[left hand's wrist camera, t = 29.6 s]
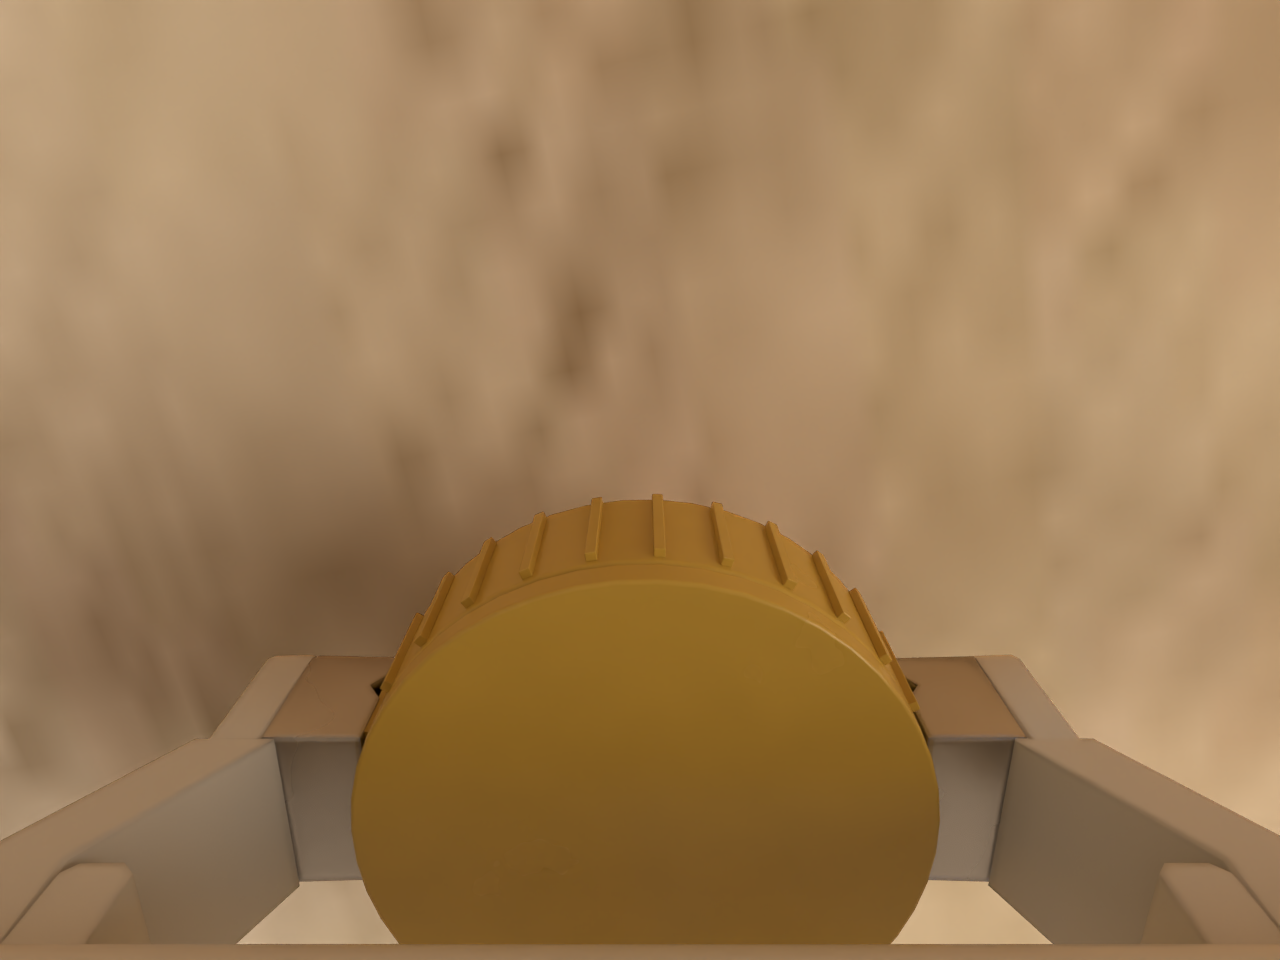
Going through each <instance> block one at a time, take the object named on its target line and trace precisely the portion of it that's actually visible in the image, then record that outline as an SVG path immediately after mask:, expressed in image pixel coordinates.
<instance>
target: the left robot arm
mask: <svg viewBox="0 0 1280 960" xmlns="http://www.w3.org/2000/svg"><path fill="white" fill-rule="evenodd" d="M394 658H395V657H363V656H318V657H317V656H315V655H285V656H274V657H271V658H268V659H267V660H266V662H265V663H264V664H263V666H262V667H261V668H260V670H259V671H258V673H257V674H256V675H255V677H254V678H253V679H252V681H251V682H250V684H249V685H248V686H247V688H246V689H245V690H244V692H243V693H242V694H241V696H240V697H239V699H238V700H237V701H236V703H235V704H234V705H233V707H232V708H231V710H230V711H229V712H228V714H227V715H226V716H225V718H224V719H223V720H222V722H221V723H220V725H219V726H218V727H217V729H216V730H215V731H214V733H213V734H212V736H211V737H210V738H209V739H194V740H192V741H190V742H188V743H186V744H184V745H183V746H181V747H179V748H177V749H175V750H173V751H171V752H169V753H167V754H165V755H163V756H162V757H160V758H158V759H156V760H154V761H152V762H150V763H148V764H146V765H144V766H142V767H141V768H139V769H137V770H135V771H133V772H131V773H129V774H127V775H125V776H123V777H121V778H120V779H118V780H116V781H114V782H112V783H110V784H108V785H106V786H104V787H102V788H100V789H98V790H97V791H95V792H93V793H91V794H89V795H87V796H85V797H83V798H81V799H79V800H77V801H76V802H74V803H72V804H70V805H68V806H66V807H64V808H62V809H60V810H58V811H56V812H55V813H53V814H51V815H49V816H47V817H45V818H43V819H41V820H39V821H37V822H35V823H34V824H32V825H30V826H28V827H26V828H24V829H22V830H20V831H18V832H16V833H14V834H13V835H11V836H9V837H7V838H5V839H3V840H1V841H0V960H1280V836H1279V835H1277V834H1275V833H1273V832H1272V831H1270V830H1268V829H1266V828H1264V827H1262V826H1260V825H1258V824H1256V823H1254V822H1252V821H1250V820H1248V819H1247V818H1245V817H1243V816H1241V815H1239V814H1237V813H1235V812H1233V811H1231V810H1229V809H1227V808H1225V807H1224V806H1222V805H1220V804H1218V803H1216V802H1214V801H1212V800H1210V799H1208V798H1206V797H1204V796H1202V795H1200V794H1199V793H1197V792H1195V791H1193V790H1191V789H1189V788H1187V787H1185V786H1183V785H1181V784H1179V783H1177V782H1175V781H1174V780H1172V779H1170V778H1168V777H1166V776H1164V775H1162V774H1160V773H1158V772H1156V771H1154V770H1152V769H1151V768H1149V767H1147V766H1145V765H1143V764H1141V763H1139V762H1137V761H1135V760H1133V759H1131V758H1129V757H1127V756H1126V755H1124V754H1122V753H1120V752H1118V751H1116V750H1114V749H1112V748H1110V747H1108V746H1106V745H1104V744H1102V743H1101V742H1099V741H1097V740H1095V739H1079V737H1078V736H1077V735H1076V733H1075V732H1074V731H1073V729H1072V728H1071V727H1070V725H1069V724H1068V723H1067V721H1066V720H1065V719H1064V717H1063V716H1062V715H1061V713H1060V712H1059V711H1058V709H1057V708H1056V707H1055V705H1054V704H1053V703H1052V701H1051V700H1050V699H1049V697H1048V696H1047V695H1046V693H1045V692H1044V691H1043V689H1042V688H1041V687H1040V685H1039V684H1038V683H1037V681H1036V680H1035V679H1034V677H1033V676H1032V675H1031V673H1030V672H1029V671H1028V669H1027V668H1026V667H1025V665H1024V664H1023V663H1022V661H1021V660H1020V659H1019V658H1017V657H1015V656H1013V655H990V656H967V657H927V658H896V660H897V662H898V664H899V666H900V668H901V670H902V672H903V674H904V676H905V678H906V680H907V682H908V684H909V686H910V688H911V690H912V692H913V694H914V696H915V698H916V700H917V702H918V704H919V707H920V710H917V711H915V712H913V713H914V715H915V718H916V720H917V722H918V724H919V726H920V728H921V731H922V733H923V736H924V738H925V741H926V743H927V746H928V749H929V751H930V754H931V756H932V759H933V764H934V769H935V773H936V778H937V783H938V788H939V806H940V825H939V833H938V841H937V849H936V855H935V858H934V862H933V865H932V868H931V872H930V875H929V879H928V880H950V881H987V882H989V884H988V885H989V886H990V887H991V888H992V889H993V890H994V891H995V892H996V893H998V894H999V895H1000V896H1001V897H1002V898H1003V899H1004V900H1005V901H1006V902H1007V903H1009V904H1010V905H1011V906H1012V907H1013V908H1014V909H1015V910H1016V911H1017V912H1018V913H1020V914H1021V915H1022V916H1023V917H1024V918H1025V919H1026V920H1027V921H1028V922H1030V923H1031V924H1032V925H1033V926H1034V927H1035V928H1036V929H1037V930H1038V931H1039V932H1041V933H1042V934H1043V935H1044V936H1045V937H1046V938H1047V939H1048V940H1049V941H1050V942H1052V943H1053V944H236V943H237V942H239V941H240V940H241V939H242V938H243V937H244V936H245V935H246V934H247V933H248V932H250V931H251V930H252V929H253V928H254V927H255V926H256V925H257V924H258V923H259V922H261V921H262V920H263V919H264V918H265V917H266V916H267V915H268V914H269V913H270V912H271V911H273V910H274V909H275V908H276V907H277V906H278V905H279V904H280V903H281V902H282V901H284V900H285V899H286V898H287V897H288V896H289V895H290V894H291V893H292V892H293V891H294V890H296V889H297V888H298V887H299V882H301V881H336V880H363V879H362V876H361V873H360V870H359V867H358V865H357V861H356V855H355V850H354V844H353V838H352V832H351V795H352V789H353V783H354V776H355V770H356V766H357V763H358V760H359V757H360V754H361V751H362V748H363V745H364V742H365V733H364V731H365V728H366V726H367V724H368V722H369V720H370V718H371V716H372V714H373V712H374V710H375V708H376V706H377V704H378V702H379V695H380V693H381V691H382V689H380V687H381V685H382V683H383V681H384V679H385V676H386V674H387V672H388V670H389V668H390V666H391V664H392V662H393V660H394Z"/></svg>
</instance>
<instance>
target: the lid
mask: <svg viewBox="0 0 1280 960" xmlns="http://www.w3.org/2000/svg"><path fill="white" fill-rule="evenodd" d="M380 689H382V691H381V693H380V695H379V702H378V704H377V706H376V708H375V710H374V712H373V714H372V716H371V718H370V720H369V722H368V724H367V726H366V728H365V731H364V733H365V742H364V745H363V748H362V751H361V754H360V757H359V760H358V763H357V766H356V770H355V776H354V783H353V789H352V795H351V832H352V838H353V844H354V850H355V855H356V861H357V865H358V867H359V870H360V873H361V876H362V879H363V882H364V885H365V888H366V891H367V893H368V895H369V897H370V899H371V901H372V902H373V904H374V906H375V908H376V910H377V912H378V914H379V916H380V918H381V919H382V921H383V922H384V924H385V925H386V926H387V928H388V929H389V930H390V932H391V933H392V935H393V936H394V937H395V939H396V940H397V942H398V943H399V944H891V943H892V942H893V941H894V939H895V938H896V937H897V936H898V934H899V933H900V931H901V930H902V928H903V927H904V925H905V924H906V922H907V921H908V919H909V918H910V916H911V915H912V913H913V912H914V910H915V908H916V906H917V904H918V901H919V899H920V897H921V895H922V893H923V891H924V889H925V886H926V884H927V882H928V879H929V875H930V872H931V868H932V865H933V862H934V858H935V855H936V849H937V841H938V833H939V825H940V806H939V788H938V783H937V778H936V773H935V769H934V764H933V759H932V756H931V754H930V751H929V749H928V746H927V743H926V741H925V738H924V736H923V733H922V731H921V728H920V726H919V724H918V722H917V720H916V718H915V715H914V713H913V712H915V711H917V710H920V707H919V704H918V702H917V700H916V698H915V696H914V694H913V692H912V690H911V688H910V686H909V684H908V682H907V680H906V678H905V676H904V674H903V672H902V670H901V668H900V666H899V664H898V662H897V660H896V658H895V656H894V653H893V651H892V649H891V647H890V645H889V643H888V641H887V639H886V637H885V635H884V633H883V631H880V632H879V631H878V629H877V627H876V625H875V623H874V621H873V619H872V617H871V615H870V613H869V611H868V609H867V607H866V604H865V602H864V600H863V598H862V596H861V594H860V593H859V592H858V590H857V589H856V588H854V589H852V590H851V591H848V590H847V588H846V587H845V586H844V585H843V583H842V582H841V581H840V580H839V579H838V578H837V577H836V576H835V575H834V574H833V573H832V572H831V571H830V569H829V567H828V564H827V562H826V560H825V557H824V555H822V554H821V553H820V552H819V551H816V552H815V553H814V554H813V555H812V554H810V553H809V552H807V551H806V550H804V549H803V548H802V547H800V546H799V545H797V544H796V543H794V542H793V541H792V540H790V539H789V538H787V537H785V536H783V535H781V534H780V533H779V530H778V527H777V525H776V524H774V523H772V522H770V521H768V522H767V524H766V525H765V526H764V525H762V524H760V523H758V522H755V521H752V520H749V519H747V518H744V517H741V516H738V515H736V514H733V513H730V512H727V511H723V506H722V504H720V503H716V502H712V505H711V508H710V507H706V506H702V505H697V504H693V503H684V502H674V501H664V500H663V495H662V494H652V500H621V501H614V502H607V503H603V500H602V497H599V498H593V499H592V501H591V505H586V506H582V507H579V508H575V509H571V510H568V511H564V512H560V513H556V514H553V515H550V516H548V517H546V515H545V513H544V512H541V513H539V514H536V515H535V516H534V519H533V523H531V524H528V525H526V526H523V527H521V528H519V529H518V530H516V531H514V532H512V533H511V534H509V535H507V536H505V537H503V538H502V539H500V540H498V541H496V542H495V540H494V539H493V538H492V537H491V538H489V539H488V540H486V541H485V542H484V544H483V546H482V549H481V551H480V554H478V555H477V556H476V557H474V558H473V559H472V560H471V561H469V562H468V563H467V564H466V565H465V566H464V567H463V568H462V569H461V570H460V571H459V572H458V573H457V574H456V575H455V576H454V575H453V574H452V573H450V572H448V573H447V574H446V575H445V576H444V577H443V578H442V581H441V583H440V585H439V587H438V589H437V592H436V594H435V596H434V598H433V600H432V602H431V605H430V606H429V608H428V609H427V610H426V612H425V614H424V616H423V615H421V614H419V613H416V615H415V616H414V618H413V620H412V622H411V624H410V626H409V628H408V631H407V633H406V635H405V637H404V639H403V641H402V643H401V645H400V647H399V649H398V651H397V653H396V656H395V658H394V660H393V662H392V664H391V666H390V668H389V670H388V672H387V674H386V676H385V679H384V681H383V683H382V685H381V687H380Z"/></svg>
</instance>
